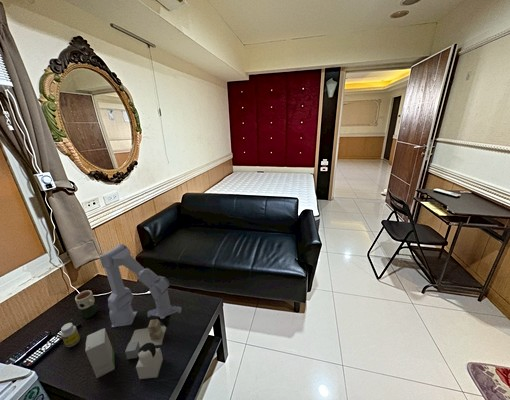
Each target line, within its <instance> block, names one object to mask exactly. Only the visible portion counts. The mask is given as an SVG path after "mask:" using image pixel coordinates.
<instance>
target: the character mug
mask: <svg viewBox="0 0 510 400" xmlns="http://www.w3.org/2000/svg"><path fill="white" fill-rule="evenodd" d="M74 300H75V303H76V305H77V308H78V309H79V310H81V313H82V318H84V319H89V318H91V317H93V316H94V315H95V314H96V313H97V312H98V309H97V307H96V305H95V304H94V303H95V297H94V294H93V292H92V290H89V289H88V290H87V289H86V290H83V291H81V292H79V293H78V294H77V295H75V298H74Z"/></svg>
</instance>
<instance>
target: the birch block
mask: <svg viewBox="0 0 510 400" xmlns="http://www.w3.org/2000/svg"><path fill="white" fill-rule="evenodd" d="M161 326H162V324H161V321H159V320H158V318H157V319H156V318H155V319H150V320H149V324H148V326H147V328H148V330H149V334H150V338H151V340H155V339H160V337H161V333H162V328H161Z"/></svg>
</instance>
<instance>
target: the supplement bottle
mask: <svg viewBox="0 0 510 400" xmlns="http://www.w3.org/2000/svg"><path fill="white" fill-rule="evenodd" d="M60 330H61V333H60V336H61V339H62V340H63V343H64V345H65V347H67V348H71V347H73V346H75V345H77V344H78V343H79V342H80V340H81V336H80V333H79V331H78V329H77V327H76V325H74V324H73V323H72V322H68V323H65V324H63V326H62V327H61V328H60Z"/></svg>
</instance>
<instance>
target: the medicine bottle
mask: <svg viewBox="0 0 510 400" xmlns="http://www.w3.org/2000/svg"><path fill="white" fill-rule="evenodd" d="M163 358H164V357H163V353H162V350H161V347H158V348H156V345H154V344H153V343H146V344H144V345H143V346H142V347H141V348H140V349H139V351H138V361H137V363H136V366H135V370H136V372H137V376H138V378H139V379H138V380H143V379H152V378H158V376H159V374H160V371H161V370H160V369H161V367H162V364H163V360H164V359H163Z"/></svg>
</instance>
